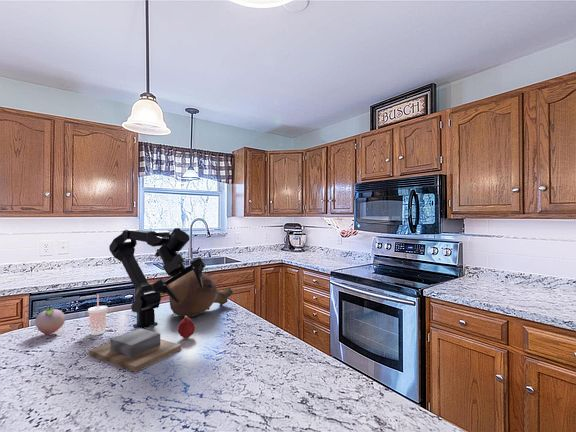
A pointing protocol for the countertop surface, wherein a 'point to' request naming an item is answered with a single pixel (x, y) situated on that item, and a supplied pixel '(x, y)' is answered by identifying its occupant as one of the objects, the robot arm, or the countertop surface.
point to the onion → (186, 327)
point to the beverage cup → (97, 318)
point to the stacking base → (136, 359)
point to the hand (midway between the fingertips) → (190, 295)
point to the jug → (196, 295)
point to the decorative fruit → (50, 321)
